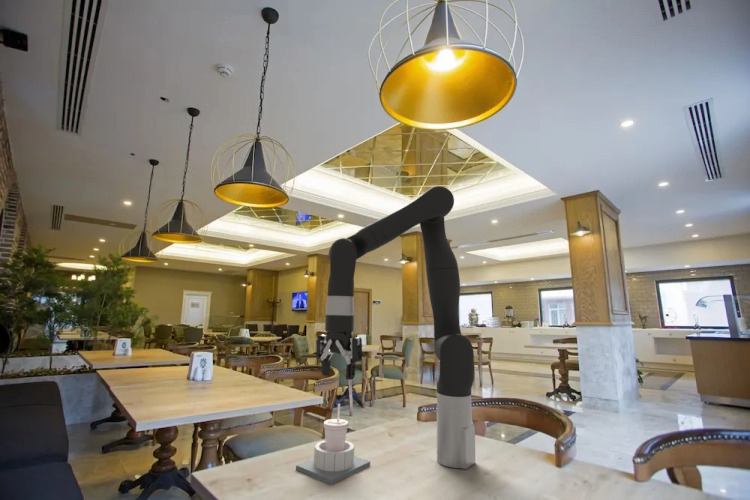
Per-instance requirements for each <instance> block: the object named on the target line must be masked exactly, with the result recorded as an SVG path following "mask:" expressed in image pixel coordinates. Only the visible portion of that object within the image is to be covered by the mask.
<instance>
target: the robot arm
mask: <svg viewBox="0 0 750 500" xmlns="http://www.w3.org/2000/svg"><path fill="white" fill-rule="evenodd" d="M454 205H455V197H454V194H453V193H452V191H451V190H450V189H449V188H447V187H446V186H439V185H436V186H432V187H430V188H428V189H427V190H426V191H424V193H422V195H420V196H419V197H418V198H417V199H414V200H413V201H412V202H410V203H408V204H407V205H405V206H403V207H401V208H400V209H398V210H396V211H393V212H391V213H389V214H388V215H386V216H384V217H381V218H380V219H377V220H375V221H374V222H371V223H369V224H368V225H365V226H364V227H362V228H361V229H359V230H358V231H357V232H355V233H354V234H353V235H350V236H348V237H342V238H337V239H336V240H335V241H334V242H333V243H332V244H331V246H330V247H329V249H328V259H329V261H330V264H329V266H330V267H329V268H330V270H329V277H328V280H327V281H328V282H327V298H326V304H325V321H324V322H325V324H324V331H325V332H326V334H318V335H317V339H316V352H315V356H316V358H318V359H320V361H321V375H322V376H326V377H327V376H330V374H331V360H330V359H331V358H332V356H333V355H334V354H338V355H341V356H342V357H343V358H344V359H345V362H346V370H345V371H346V372H345V379H346V380H348V381H349V380H354V378H355V376H356V364H358V363H360V362H362V361H363V340H362V337H361V336H360V337H353V335H352V333H354V326H355V325H354V324H355V300H354V299H355V298H354V294H355V281H354V280H355V278H354V277H355V273H356V272H355V271H356V264H357V260H359V259H361V257H363V256H365V255H366V254H369V253H371V252H373V251H375V250H377V249H380V248H381V247H383V246H384V245H386V244H388V243H390V242H392V241H394V240H395V239H397V238H398V237H400V236H401V235H403V234H405V233H406V232H407V231H409V230H411V229H413V228H414V227H416V226H417V225H419V226H420V230H421V235H422V241H423V252H424V261H425V262H424V263H425V271H426V280H427V287H428V288H427V289H428V294H429V299H430V300H429V301H430V306H431V310H432V317H433V333H434V334H433V337H434V339H433V343H434V345H433V347H434V348H433V349H434V353H435V355H436V358H437V360H438V361H439V377H438V380H437V382H436V462H438V463H439V464H440V465H442V466H444V467H448V468H452V469H453V468H455V469H463V470H467V469H469V468H470V467H471V466H473V465H474V464H475V463H476V426H475V424H474V423H473V422H472V417H473V416H472V388H473V386H474V378H475V377H474V372H475V369H474V368H475V355H474V347H473V344H472V342H471V341H470V339H469V338H468V337H466V336H465V335H463V334H462V331H461V326H460V321H459V302H460V295H461V280H460V271H459V264H458V261H457V258H456V256H455V254H454V251H453V249H452V248H451V246H450V244H449V241H448V239H447V234H446V227H445V217H446V216H447V215H448V214H449V213H450V212H451V211H452V210H453V208H454Z"/></svg>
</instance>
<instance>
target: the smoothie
mask: <svg viewBox="0 0 750 500" xmlns="http://www.w3.org/2000/svg"><path fill="white" fill-rule="evenodd" d="M340 414H341V403H338V404H337V416H336V417H337V418H331V419H330V418H328V419H326V420H324V421H323V428H324V439H325V442H326V451H331V452H338V451H344V445H345V441H346V437H347V431H348V428H349V421H347V420H346V419H344V418H343V419H342V418H340Z"/></svg>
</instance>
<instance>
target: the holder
mask: <svg viewBox="0 0 750 500" xmlns="http://www.w3.org/2000/svg"><path fill="white" fill-rule="evenodd" d="M313 453H314V454H313V455H314V456H313V458H311V459H309V460H306V461H303V462H300V463H298V464H296V465H295V470H296V471H298V472H301V473H302V474H305V475H308V476H310V477H312V478H315V479H318V480H319V481H322V482H325V483H327V484H329V485H334V484H335V483H337V482H340V481H341V480H344V479H346V478H347V477H350V476H352V475H353V474H356V473H358V472H360V471H362V470H364V469H366V468H369V467H370V466H371V461H370V460H368V459H364V458H361V457H359V456H356V455H355V445H354V444H353V443H352V442H351V441H347V440H345V445H344V451H338V452H331V451H326V442H325V440H322V441H320V442H319V441H318V442H317V443H316V444H315V445H314V452H313Z"/></svg>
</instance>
